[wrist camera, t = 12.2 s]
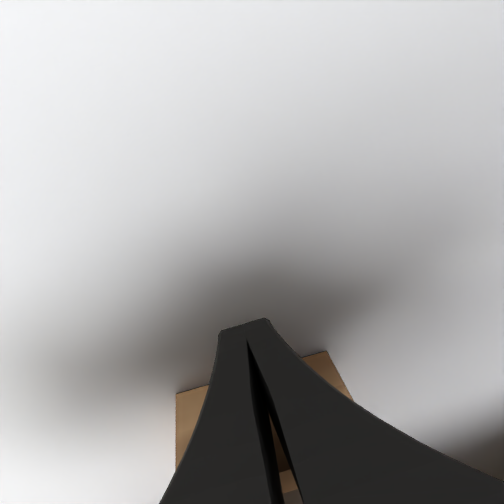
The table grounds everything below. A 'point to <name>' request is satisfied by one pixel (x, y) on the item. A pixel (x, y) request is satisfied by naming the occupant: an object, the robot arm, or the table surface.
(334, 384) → the caddy
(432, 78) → the table surface
